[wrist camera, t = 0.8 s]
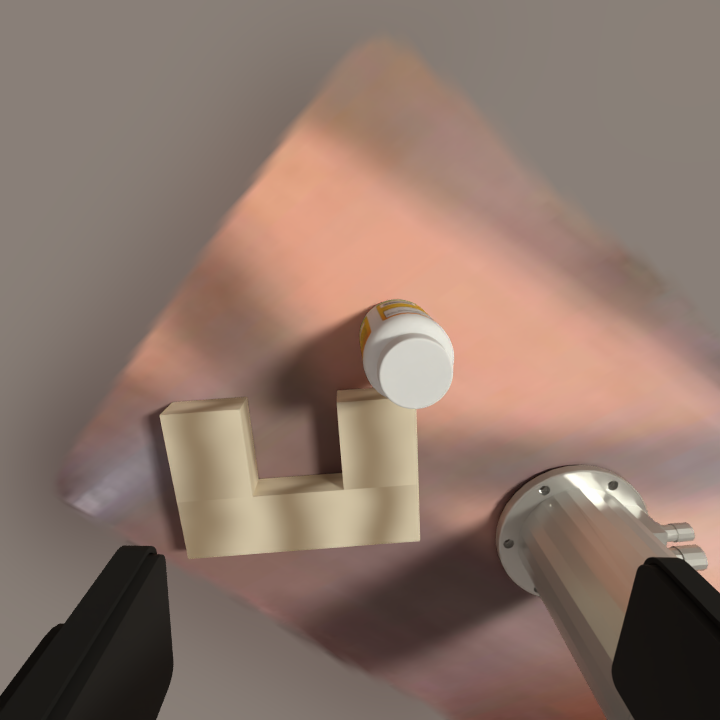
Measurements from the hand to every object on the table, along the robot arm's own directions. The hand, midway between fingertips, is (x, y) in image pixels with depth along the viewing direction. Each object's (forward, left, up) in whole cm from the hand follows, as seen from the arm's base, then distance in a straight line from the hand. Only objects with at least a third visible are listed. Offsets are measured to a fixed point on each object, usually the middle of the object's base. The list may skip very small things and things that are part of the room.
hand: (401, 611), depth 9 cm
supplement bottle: (-3, 0, -25) cm, 25 cm away
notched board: (+5, +10, -25) cm, 27 cm away
